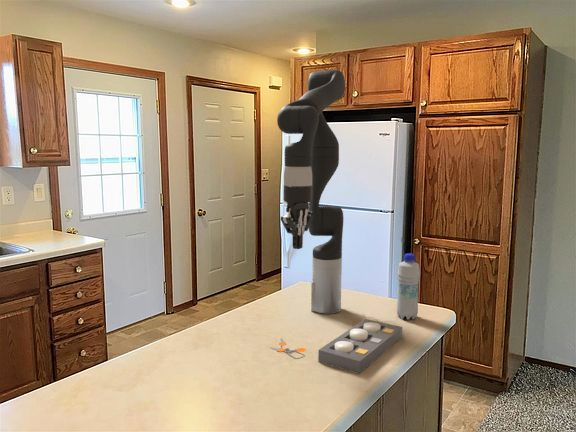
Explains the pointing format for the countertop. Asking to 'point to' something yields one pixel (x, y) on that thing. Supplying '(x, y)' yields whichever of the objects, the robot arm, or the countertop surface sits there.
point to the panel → (361, 347)
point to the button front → (344, 346)
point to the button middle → (359, 335)
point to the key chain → (288, 349)
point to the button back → (372, 327)
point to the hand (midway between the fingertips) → (297, 248)
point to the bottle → (408, 287)
